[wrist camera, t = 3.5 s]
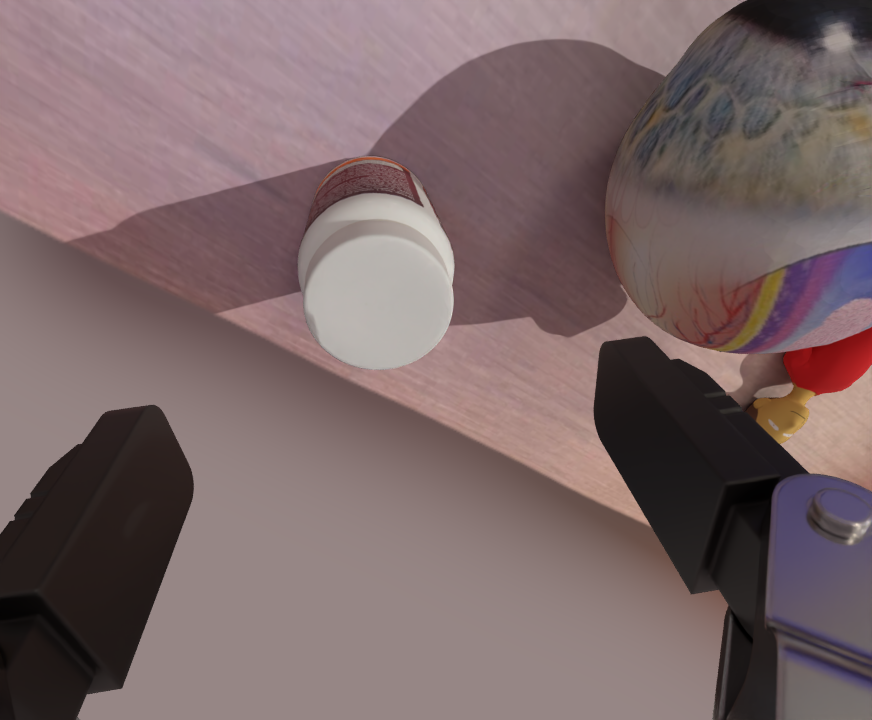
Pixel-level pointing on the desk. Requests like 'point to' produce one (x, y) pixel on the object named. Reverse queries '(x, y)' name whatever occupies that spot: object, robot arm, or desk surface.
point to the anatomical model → (753, 182)
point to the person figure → (813, 381)
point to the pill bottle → (375, 266)
